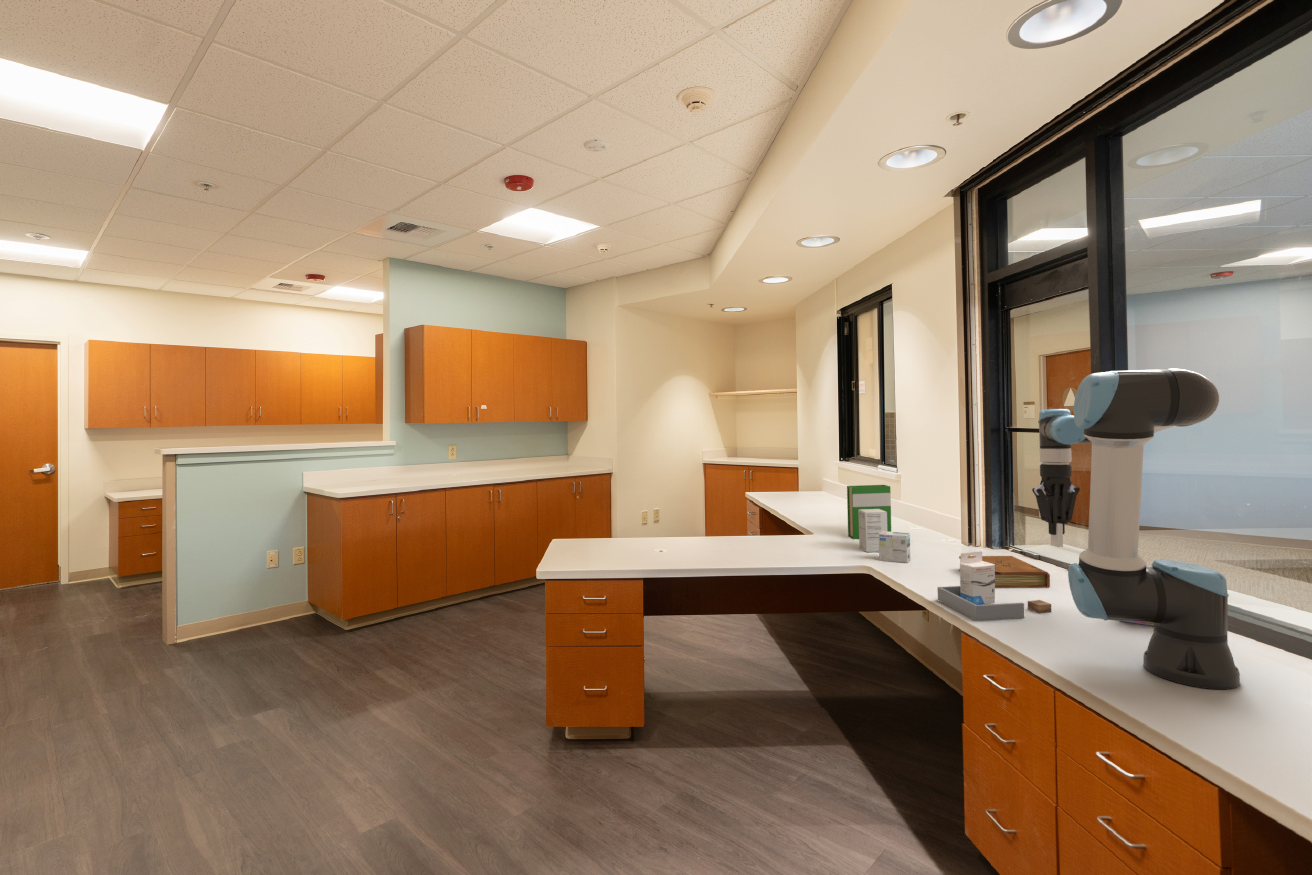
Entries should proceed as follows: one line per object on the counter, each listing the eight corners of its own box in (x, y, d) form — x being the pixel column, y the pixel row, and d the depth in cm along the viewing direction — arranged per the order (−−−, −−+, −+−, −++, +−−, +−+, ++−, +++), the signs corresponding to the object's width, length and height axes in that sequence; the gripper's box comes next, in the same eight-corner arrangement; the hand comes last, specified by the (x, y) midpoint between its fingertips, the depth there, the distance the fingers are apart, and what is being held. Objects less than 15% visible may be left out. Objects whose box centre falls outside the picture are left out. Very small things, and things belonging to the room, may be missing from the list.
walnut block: (1051, 612, 167) (1051, 603, 167) (1039, 614, 166) (1039, 605, 166) (1039, 608, 171) (1039, 599, 171) (1027, 609, 170) (1027, 600, 170)
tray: (1024, 617, 163) (1023, 603, 162) (976, 620, 161) (975, 606, 161) (981, 597, 181) (980, 584, 181) (937, 599, 180) (937, 586, 180)
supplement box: (888, 552, 246) (887, 511, 246) (866, 552, 246) (865, 512, 246) (880, 547, 256) (879, 508, 255) (858, 547, 256) (857, 508, 256)
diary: (1050, 589, 190) (1049, 571, 189) (988, 589, 192) (988, 572, 191) (1014, 571, 212) (1013, 555, 212) (959, 571, 214) (959, 555, 214)
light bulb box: (911, 559, 232) (910, 532, 232) (908, 563, 226) (907, 535, 226) (882, 557, 238) (881, 530, 238) (878, 560, 232) (878, 533, 232)
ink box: (973, 606, 173) (972, 556, 173) (959, 601, 178) (958, 553, 178) (996, 603, 176) (995, 553, 175) (982, 598, 181) (981, 550, 180)
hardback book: (853, 539, 274) (852, 487, 273) (848, 536, 281) (846, 485, 281) (891, 538, 274) (890, 486, 274) (885, 535, 282) (883, 484, 281)
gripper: (1066, 461, 173) (1067, 542, 173) (1024, 463, 172) (1026, 544, 172) (1087, 463, 165) (1088, 547, 166) (1043, 464, 164) (1045, 549, 165)
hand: (1056, 545), depth 169 cm, fingers closed
